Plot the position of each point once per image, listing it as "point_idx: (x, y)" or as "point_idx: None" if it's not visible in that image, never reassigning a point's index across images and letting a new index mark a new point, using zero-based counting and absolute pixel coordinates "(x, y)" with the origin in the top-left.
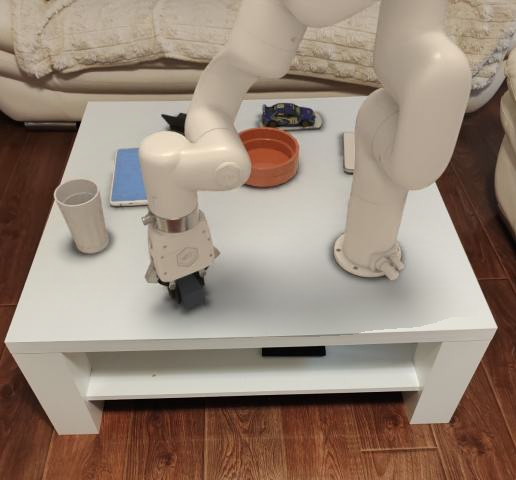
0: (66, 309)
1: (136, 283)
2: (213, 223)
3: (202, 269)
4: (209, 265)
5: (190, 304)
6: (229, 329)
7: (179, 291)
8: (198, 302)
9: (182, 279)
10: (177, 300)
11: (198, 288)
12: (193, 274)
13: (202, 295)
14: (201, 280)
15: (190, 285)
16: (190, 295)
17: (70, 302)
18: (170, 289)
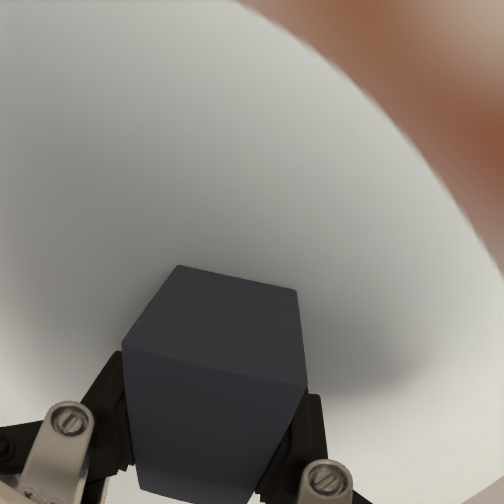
0: (486, 462)
1: None
2: None
3: (46, 457)
4: (7, 429)
5: (269, 305)
6: (194, 12)
7: None
8: (213, 287)
9: (213, 466)
10: None
11: (158, 365)
12: (132, 446)
13: (164, 303)
14: (105, 392)
15: (197, 419)
16: (255, 357)
17: (467, 474)
18: (327, 456)
